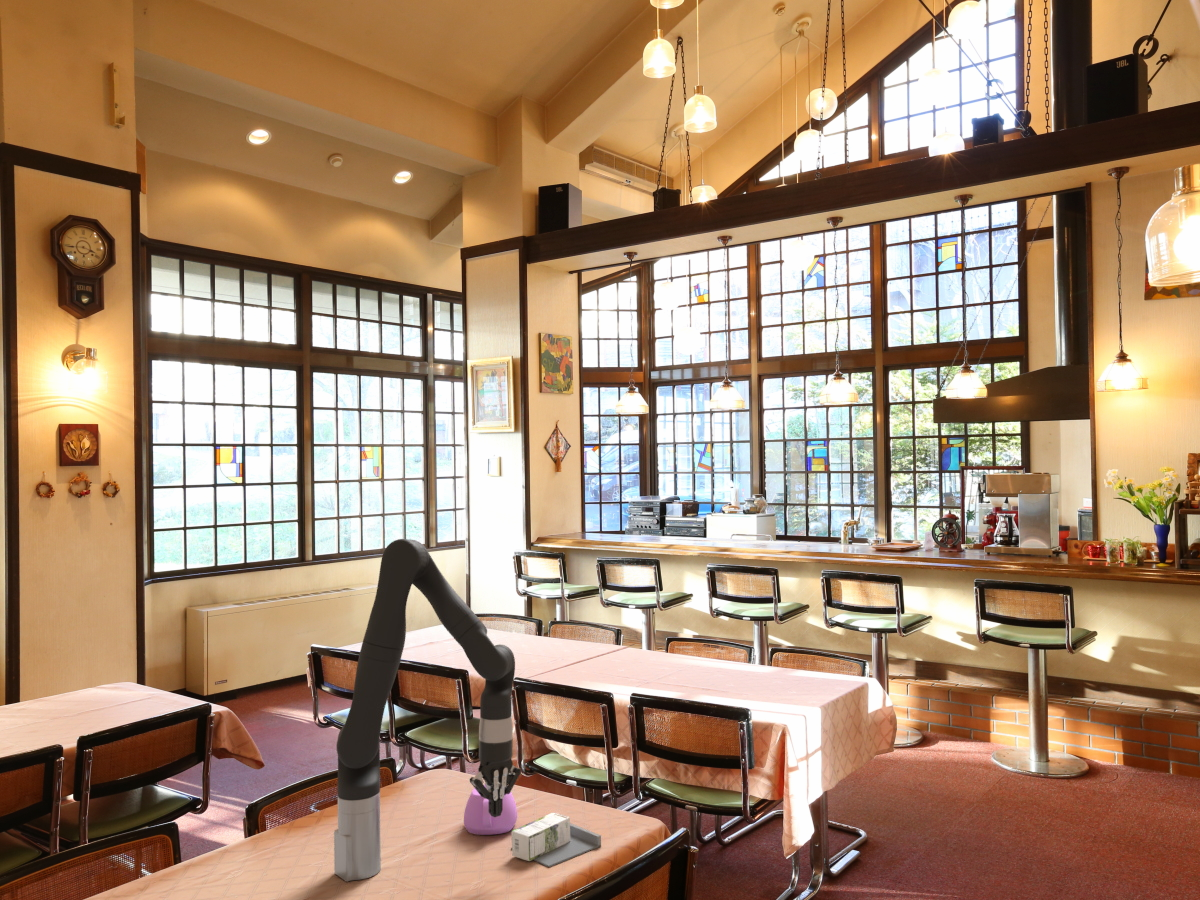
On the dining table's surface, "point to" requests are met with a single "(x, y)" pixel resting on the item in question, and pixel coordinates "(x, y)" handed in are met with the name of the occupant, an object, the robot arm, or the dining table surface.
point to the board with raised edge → (571, 846)
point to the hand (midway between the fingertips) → (495, 815)
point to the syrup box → (540, 836)
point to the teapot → (482, 821)
